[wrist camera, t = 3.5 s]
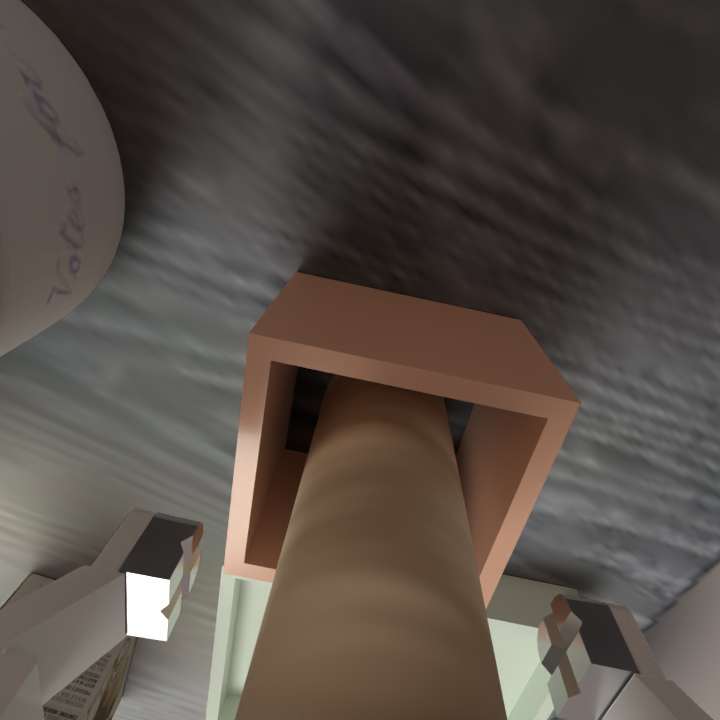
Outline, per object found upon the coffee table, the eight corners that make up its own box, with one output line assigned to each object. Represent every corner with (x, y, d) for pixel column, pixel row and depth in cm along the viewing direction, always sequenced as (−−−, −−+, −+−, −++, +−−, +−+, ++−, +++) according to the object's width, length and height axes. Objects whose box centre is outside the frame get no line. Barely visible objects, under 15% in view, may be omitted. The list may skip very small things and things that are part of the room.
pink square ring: (269, 457, 20) (223, 572, 15) (296, 271, 17) (249, 333, 11) (456, 495, 20) (479, 623, 15) (521, 320, 17) (580, 403, 12)
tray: (220, 679, 27) (204, 728, 25) (240, 521, 22) (222, 565, 20) (495, 732, 27) (504, 786, 25) (576, 589, 22) (597, 639, 20)
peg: (318, 430, 19) (223, 792, 9) (338, 330, 18) (247, 631, 7) (425, 452, 20) (465, 838, 9) (456, 355, 18) (555, 692, 7)
